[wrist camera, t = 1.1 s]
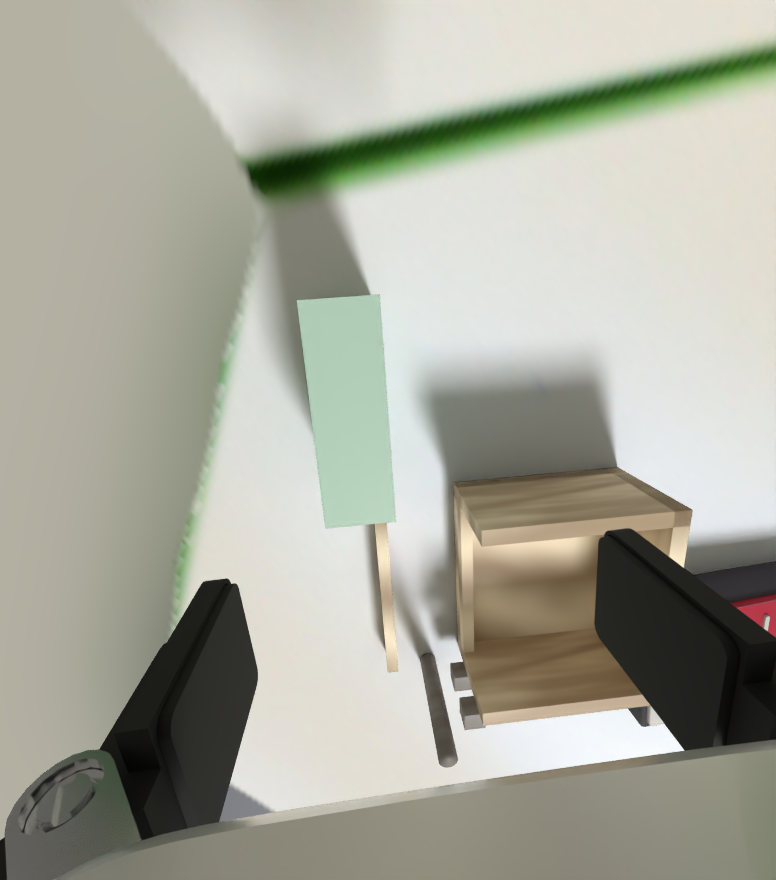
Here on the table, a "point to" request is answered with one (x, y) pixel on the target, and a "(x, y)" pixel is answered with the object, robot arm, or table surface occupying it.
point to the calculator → (748, 589)
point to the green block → (349, 408)
